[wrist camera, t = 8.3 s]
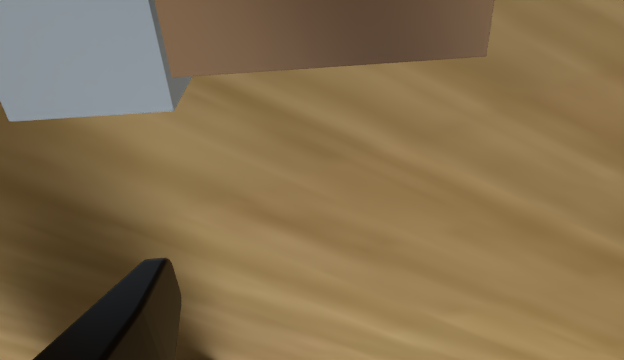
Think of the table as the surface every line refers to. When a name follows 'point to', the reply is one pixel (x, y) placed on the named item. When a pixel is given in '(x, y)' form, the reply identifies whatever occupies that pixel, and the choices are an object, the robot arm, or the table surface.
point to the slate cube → (83, 59)
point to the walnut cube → (317, 33)
